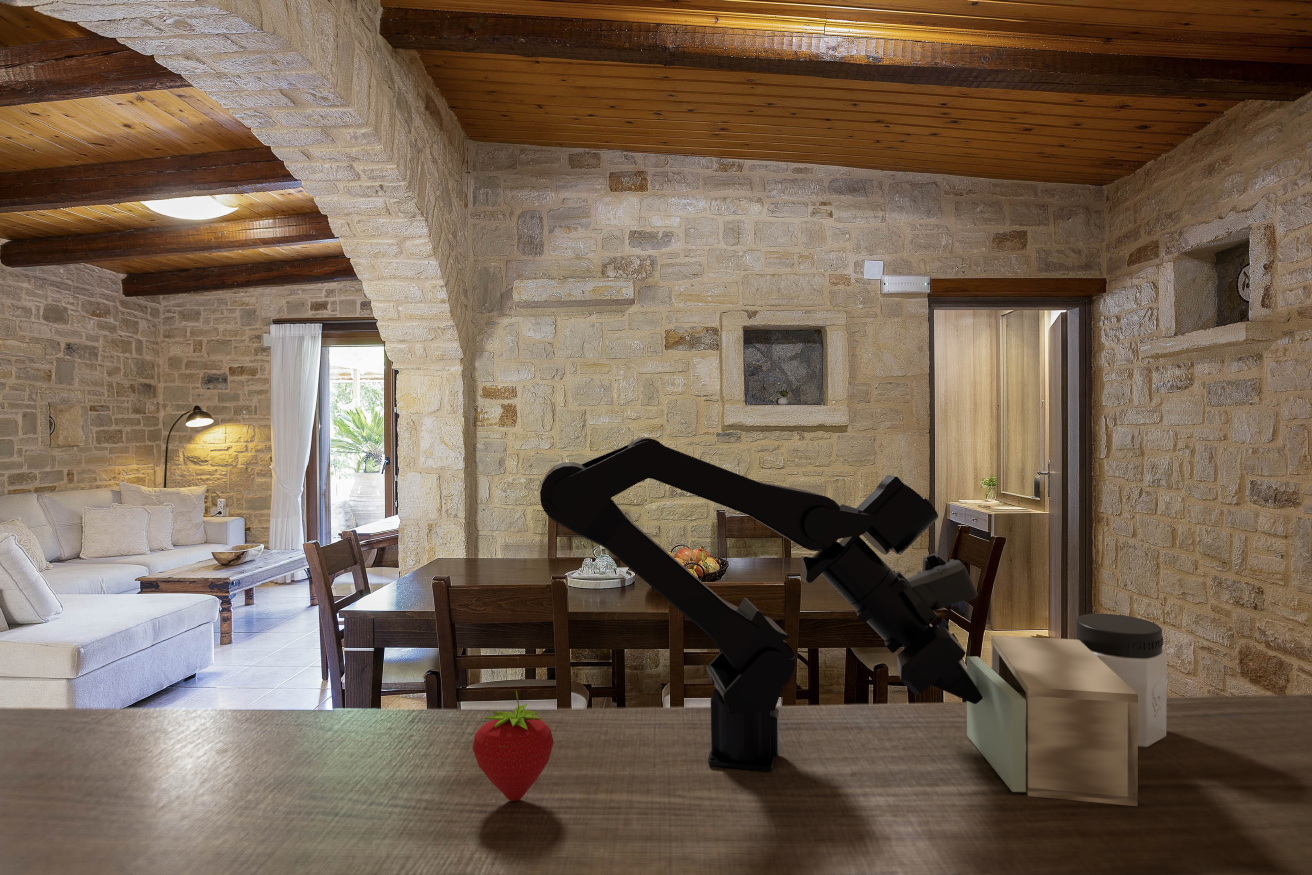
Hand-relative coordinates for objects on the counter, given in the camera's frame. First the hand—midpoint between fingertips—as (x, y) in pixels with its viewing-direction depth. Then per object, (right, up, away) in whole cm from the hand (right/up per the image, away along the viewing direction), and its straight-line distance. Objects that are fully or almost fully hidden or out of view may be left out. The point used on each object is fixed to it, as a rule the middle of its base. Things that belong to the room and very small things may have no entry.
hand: (977, 697), depth 76 cm
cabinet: (+8, -6, -1) cm, 10 cm away
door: (+1, -6, -2) cm, 6 cm away
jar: (+18, -6, +6) cm, 20 cm away
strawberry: (-47, -7, -7) cm, 48 cm away
